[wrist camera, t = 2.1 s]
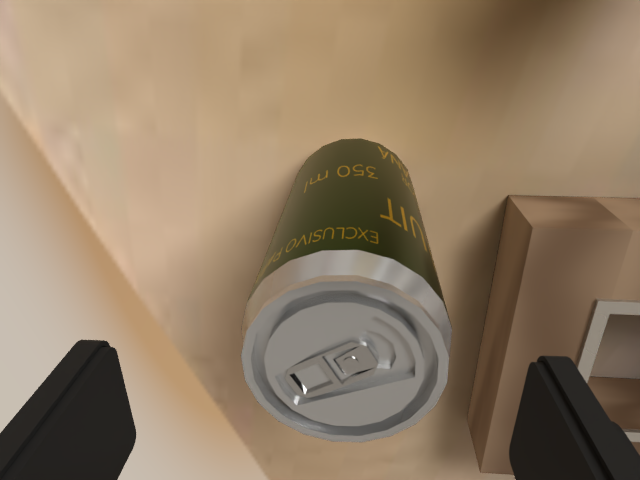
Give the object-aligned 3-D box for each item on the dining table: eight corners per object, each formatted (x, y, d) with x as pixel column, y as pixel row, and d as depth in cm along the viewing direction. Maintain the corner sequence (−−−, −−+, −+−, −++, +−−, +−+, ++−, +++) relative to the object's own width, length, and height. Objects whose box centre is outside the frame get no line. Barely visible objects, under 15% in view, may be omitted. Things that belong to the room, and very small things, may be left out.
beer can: (331, 260, 24) (305, 471, 13) (274, 169, 22) (187, 328, 11) (431, 213, 22) (495, 408, 11) (378, 111, 20) (394, 230, 9)
